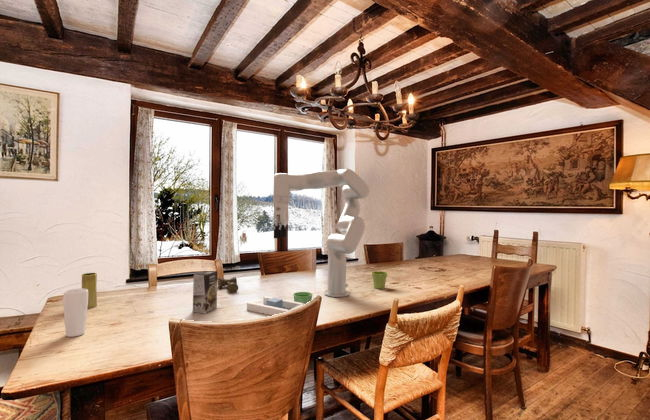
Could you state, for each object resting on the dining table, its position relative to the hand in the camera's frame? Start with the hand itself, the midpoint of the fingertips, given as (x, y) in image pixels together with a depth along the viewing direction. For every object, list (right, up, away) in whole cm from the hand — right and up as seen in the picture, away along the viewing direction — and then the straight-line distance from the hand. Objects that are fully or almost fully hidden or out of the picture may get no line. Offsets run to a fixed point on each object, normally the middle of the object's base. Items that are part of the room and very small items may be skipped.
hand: (279, 237), depth 150 cm
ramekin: (+10, -32, +3) cm, 33 cm away
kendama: (-32, -31, +28) cm, 52 cm away
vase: (-82, -30, -8) cm, 88 cm away
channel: (-1, -31, -8) cm, 32 cm away
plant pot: (+52, -32, +36) cm, 71 cm away
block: (-1, -31, -7) cm, 32 cm away
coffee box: (-31, -31, -9) cm, 45 cm away
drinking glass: (-65, -30, -39) cm, 81 cm away
